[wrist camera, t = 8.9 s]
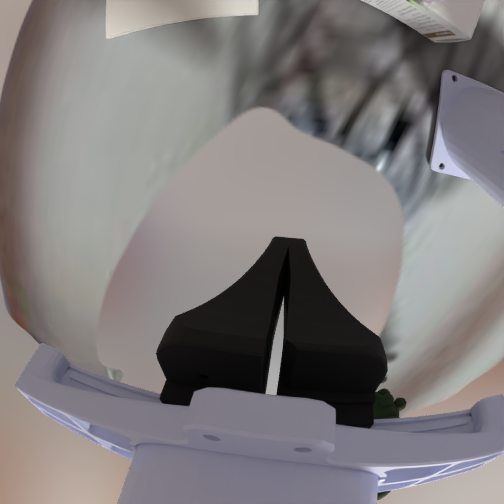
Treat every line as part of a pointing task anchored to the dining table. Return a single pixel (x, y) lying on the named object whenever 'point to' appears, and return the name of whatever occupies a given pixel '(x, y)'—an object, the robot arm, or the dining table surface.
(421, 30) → the syrup box
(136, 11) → the cream white mat
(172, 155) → the dining table surface
